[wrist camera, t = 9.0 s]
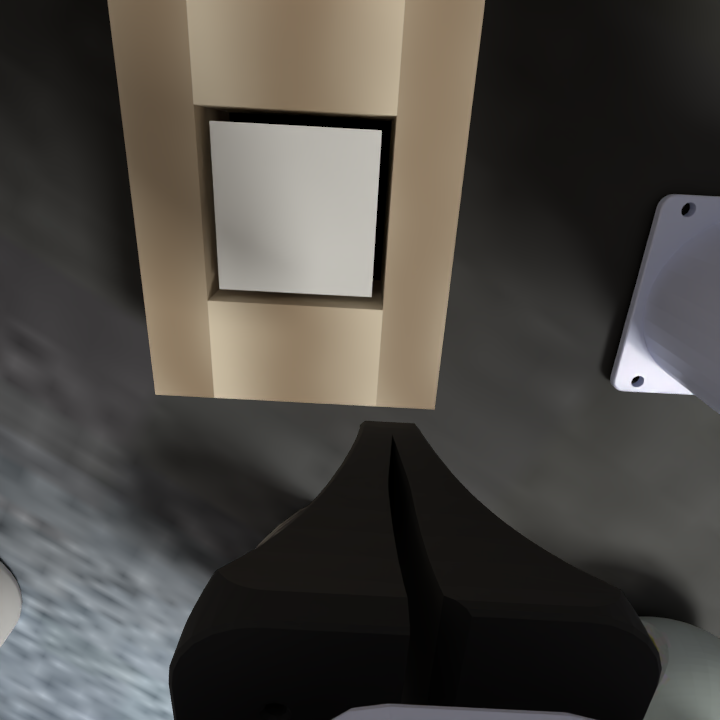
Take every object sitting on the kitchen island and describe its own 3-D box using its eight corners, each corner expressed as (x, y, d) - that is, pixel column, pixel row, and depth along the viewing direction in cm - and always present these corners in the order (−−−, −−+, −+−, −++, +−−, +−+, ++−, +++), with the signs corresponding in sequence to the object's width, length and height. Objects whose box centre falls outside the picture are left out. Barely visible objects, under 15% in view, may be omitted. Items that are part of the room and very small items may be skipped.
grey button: (379, 132, 17) (382, 130, 15) (371, 275, 19) (371, 297, 17) (234, 124, 17) (209, 120, 15) (240, 268, 19) (219, 289, 17)
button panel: (515, -469, 13) (574, -720, 9) (423, 364, 22) (434, 409, 18) (118, -494, 13) (15, -756, 9) (191, 352, 22) (155, 394, 18)
